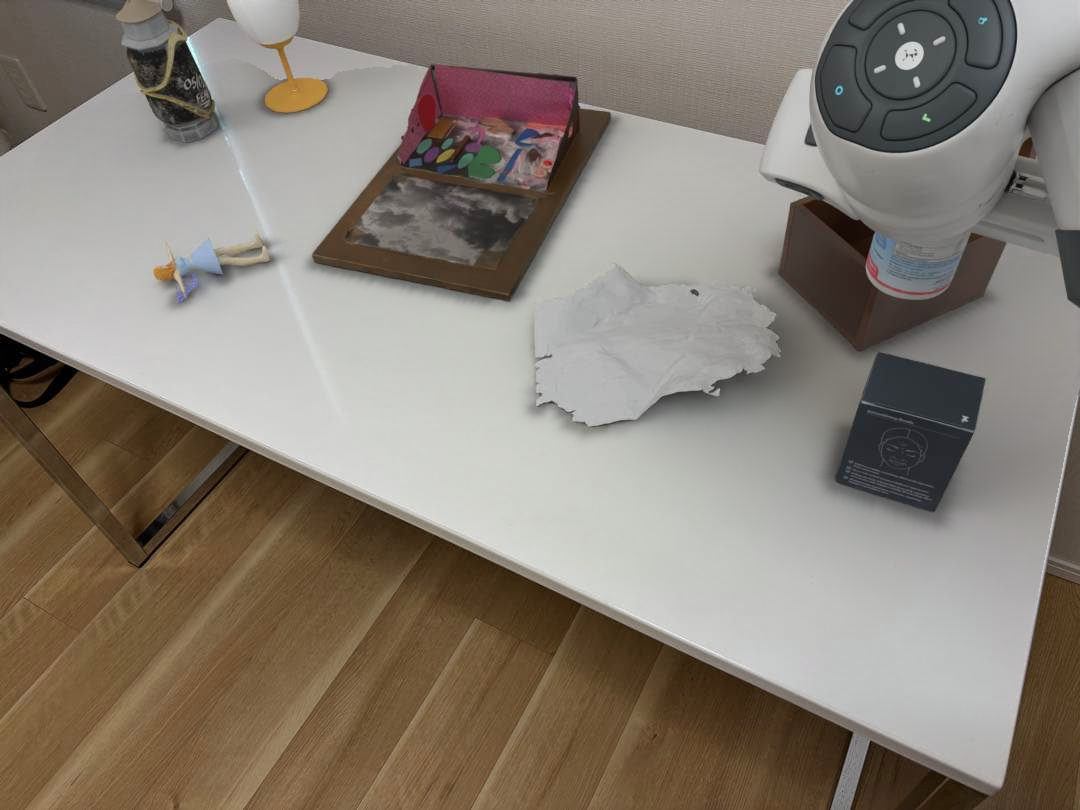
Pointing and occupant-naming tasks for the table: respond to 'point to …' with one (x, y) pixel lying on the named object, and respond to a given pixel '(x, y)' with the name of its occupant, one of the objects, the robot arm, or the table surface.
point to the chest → (843, 285)
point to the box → (910, 430)
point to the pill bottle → (914, 265)
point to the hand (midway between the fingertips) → (931, 205)
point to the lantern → (167, 71)
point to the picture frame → (470, 181)
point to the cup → (278, 49)
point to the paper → (644, 344)
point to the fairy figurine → (207, 262)
